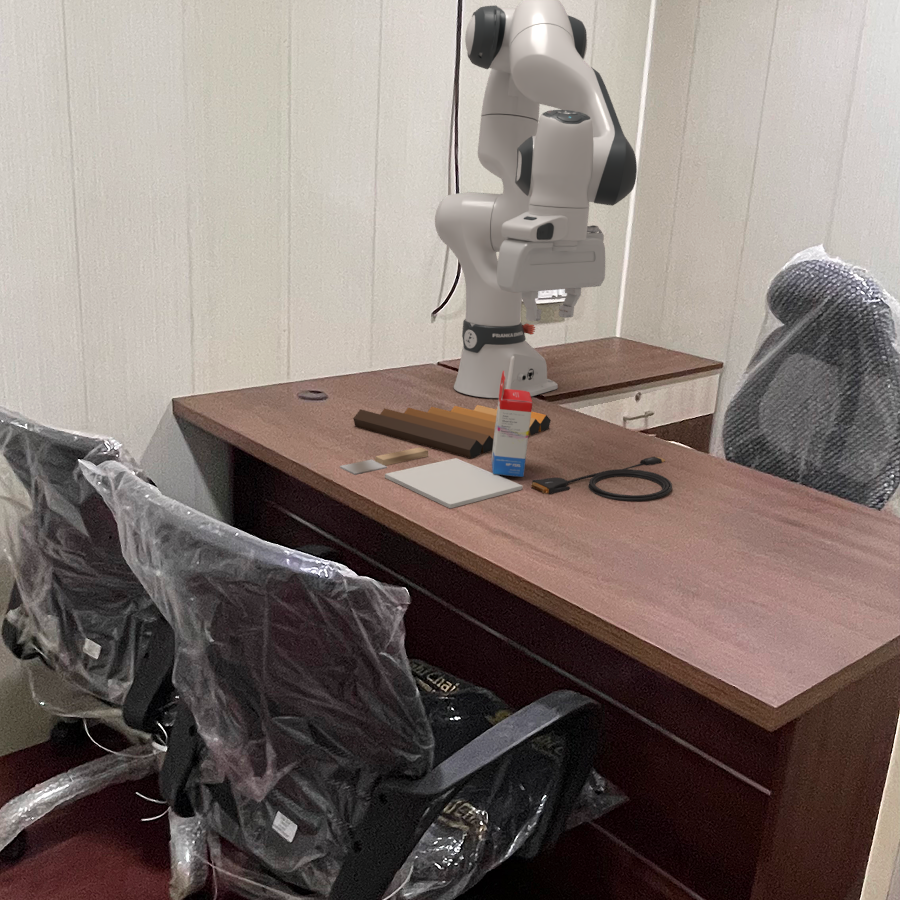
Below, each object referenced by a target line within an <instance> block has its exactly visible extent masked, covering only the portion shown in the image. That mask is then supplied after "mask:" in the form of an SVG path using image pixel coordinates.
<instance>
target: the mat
mask: <svg viewBox="0 0 900 900" xmlns="http://www.w3.org/2000/svg"><path fill="white" fill-rule="evenodd" d="M384 478H385V479H387V480H389V481H391V482H393V483H395V484H398V485H400V486H402V487H404V488H406V489H407V490H410V491H412V492H414V493H416V494H418V495H421V496H423V497H425V498H427V499H429V500H431V501H433V502H435V503H436V504H437V503H438V504H440V505H442V506H443V507H446V508H448V509H453V508H457V507H461V506H464V505H465V506H466V505H468V504H469V505H470V504H472V503H476V502H480V501H484V500H487V499H492V498H495V497H498V496H502V495H505V494H506V495H507V494H511V493H514V492H517V491H522V490H523V484H519V483H518V482H515V481H513V480H510V479H508V478H506V477H503V476H502V475H501V476H500V475H497V474H493V472H492V471H488V470H486V469H484V468H481V467H478V466H476V465H474V464H472V463H469V462H467V461H464V460H461V459H459V458H456V457H455V458H451V459H445V460H441V461H437V462H433V463H427V464H424V465H419V466H414V467H409V468H404V469H402V470H396V471H392V472H386V473H384Z"/></svg>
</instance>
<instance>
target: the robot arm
mask: <svg viewBox="0 0 900 900" xmlns="http://www.w3.org/2000/svg"><path fill="white" fill-rule="evenodd" d="M567 13H568V12H567V11H566V8H565V7H564V5H563V4H562V2H561V1H560V0H521V1H520V2H519V3H518V4H517V6H516V7H499V6H497V4H496V5H495V4H494V5H484V6H480V7H478V8H477V9H476V10H475V11H474V12H473V13H472V15H471V18H470V20H469V22H468V23H467V27H466V31H465V38H464V39H465V41H464V42H465V48H466V51H467V52H466V53H467V58H468V59H469V60H470V62H471V63H472V64H473V65H474V66H477V67H479V68H482V69H484V70H489V69H491V70H490V72H489V76H488V79H487V82H486V86H485V90H484V93H483V94H484V96H483V101H482V107H481V115H480V125H479V136H478V145H477V157H478V160H479V162H480V164H481V166H482V167H483V168H485V170H487V171H488V172H490V173H491V174H493V175H494V176H496V177H497V178H499V179H501V182H502V185H503V186H502V188H503V190H502V191H503V192H502V193H487V192H476V191H475V192H473V191H467V192H458V193H453V194H452V193H451V194H448V195H446V196H445V197H444V198H443V199H442V200H441V201H440V202H439V204H438V206H437V208H436V211H435V215H434V226H435V230H436V234H437V236H438V237H439V239H440V240H441V241H442V243H444V245H446V247H448V248H449V249H450V251H452V253H453V254H454V255H455V257H456V259H457V260H458V262H459V265H460V267H461V269H462V273H463V276H464V277H463V278H464V281H465V318H464V319H463V320H462V321H463V322H462V334H461V337H462V343H463V345H462V348H461V349H462V350H461V356H460V361H459V365H458V371H457V376H456V379H455V381H454V384H453V389H454V390H455V391H457V392H458V393H461V394H464V395H469V396H473V397H479V398H487V399H499V391H500V383H501V377H502V372H503V370H504V373H505V378H506V383H505V389H513V390H522V391H527V392H529V393H530V396H531V397H535V396H537V395H540V394H544V393H547V392H550V391H555V390H557V389H558V383H557V382H556V381H554V380H551V379H550V378H548V367H547V366H548V365H547V361H546V359H545V358H544V357H543V355H541V354H540V353H539V352H538V351H537V350H536V349H535V348H534V347H533V346H532V345H531V344H530V343H528V341H527V339H526V335H525V334H528V335H533V334H535V330H536V326H535V325H534V324H529V323H525V324H522V322H521V317H522V302H523V305H524V307H525V310H526V311H525V319H526V321H529V322H537V321H538V322H539V321H541V320H542V319H541V318H542V316H541V315H542V308H538V306H537V301H536V299H538V298H539V292H543V291H544V292H545V291H557V290H564V294H566V296H565V299H564V301H563V304H560V305H559V306H558V315H559V317H560V318H564V319H565V318H566V319H568V318H572V317H573V316H574V310H575V306H576V305H577V302H578V301H579V299H580V297H581V295H582V288H594V287H600V286H602V284H603V282H604V281H605V278H606V247H605V241H604V239H605V238H604V237H605V236H604V233H603V232H602V230H601V228H600V227H599V226H598V225H593V224H592V225H588V224H589V213H590V203H593V204H597V205H603V206H604V205H605V206H615V205H616V204H618V203H619V202H621V201H622V200H623V199H624V198H627V196H628V195H629V194H630V193H631V192H632V191H633V190H634V188H635V185H636V182H637V181H636V180H637V173H638V172H637V171H638V167H637V164H638V163H637V159H636V158H637V156H636V154H635V151H634V148H633V147H632V145H631V143H630V142H629V140H628V138H627V137H626V136H625V134H624V132H623V129H622V125H621V124H620V120H619V118H618V115H617V113H616V110H615V106H614V105H613V102H612V100H611V97H610V94H609V91H608V89H607V87H606V84H605V82H604V80H603V78H602V75H601V74H600V73H599V72H598V71H597V70H596V69H595V68H593V67H592V66H590V65H589V64H588V63H587V62H586V61H585V59H586V58H585V57H586V54H587V49H588V39H587V38H588V37H587V29H586V27H585V25H584V23H583V21H582V20H580V19H578V18H576V17H574V16H572V15H568V14H567ZM540 105H542V106H547V107H550V108H555V109H550V110H547V111H544V112H542V113H541V114H540ZM497 252H498V257H497Z"/></svg>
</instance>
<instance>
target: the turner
mask: <svg viewBox="0 0 900 900" xmlns="http://www.w3.org/2000/svg"><path fill="white" fill-rule="evenodd" d="M427 457H429V450H428V449H426V448H424V447H422V446H421V447H420V446H419V447H416V448H415V447H414V448H408V449H405V450H399V451H395V452H390V453H389V452H388V453H385V454H380V455H376V456H375V459H367V460H362V461H357V462H353V463H348V464H344V465H339V468H340V469H342V470H344V471H346V472H347V473H349V474H352V475H354V476H356V475H361V474H364V473H370V472H374V471H380V470H383V469H387V468H388V466H390V465H395V464H400V463H404V462H408V461H412V460H417V459H421V458H422V459H423V458H427Z"/></svg>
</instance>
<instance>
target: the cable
mask: <svg viewBox="0 0 900 900" xmlns="http://www.w3.org/2000/svg"><path fill="white" fill-rule="evenodd" d="M665 462H666V460H665V458H662V457H660V456H651V457H646V458H643V459H641V460H640V461H639V463H638V464H634V465H631V466H628V467H624V468H622V469H621V468H619V469H617V468H616V469H608V470H603V471H600V472H596V473H592V474H587V475H583V476H581V477H577V478H576V477H575V478H573V479H569V480H566V479H565V478H562V477H549V478H541V479H540V478H539V479H538V478H537V479H531V485H530V487H531V489H533V490H535V491H538V492H540V493H541V492H542V494H543V495H544V494H547V495H552V494H557V493H561V492H563V491H568V490H570V489H571V487H570V486H569V484H572V483H574V482H578V481H582V480H586V479H589V480H588V489H589V490H590V492H591V493H593V494H594V495H597V496H599V497H601V498H604V499H609V500H612V501H613V500H614V501H622V502H643V501H651V500H656V499H659V498H661V497H665V496H666V495H668V494H669V493H670V492H671V491H672V489H673V484H672V482H671V480H669V478H667V477H665V476H663V475H661V474H658V473H656V472H652V471H647V470H641V469H635V468H636V467H640V466H641V467H642V466H653V465H657V464H662V463H665ZM622 477H623V478H637V479H642V480H647V481H651V482H653V483H656V484H658V485H659V486H660V487H661V489H660V490H658V491H656V492H653V493H648V494H637V495H635V494H621V493H620V494H619V493H615V492H611V491H607V490H604V489H601V488H599V487H598V486H597V483H598V482H600V481H602V480H606V479H610V478H622Z"/></svg>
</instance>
